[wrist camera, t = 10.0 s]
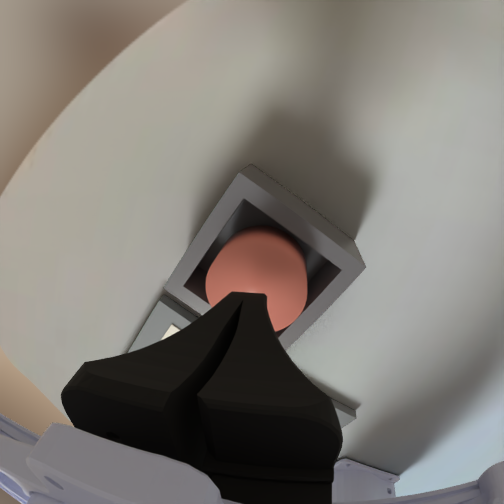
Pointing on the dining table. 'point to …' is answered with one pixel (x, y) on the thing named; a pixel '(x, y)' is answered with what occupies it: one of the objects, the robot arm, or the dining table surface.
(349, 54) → the dining table surface
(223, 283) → the button
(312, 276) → the button base
